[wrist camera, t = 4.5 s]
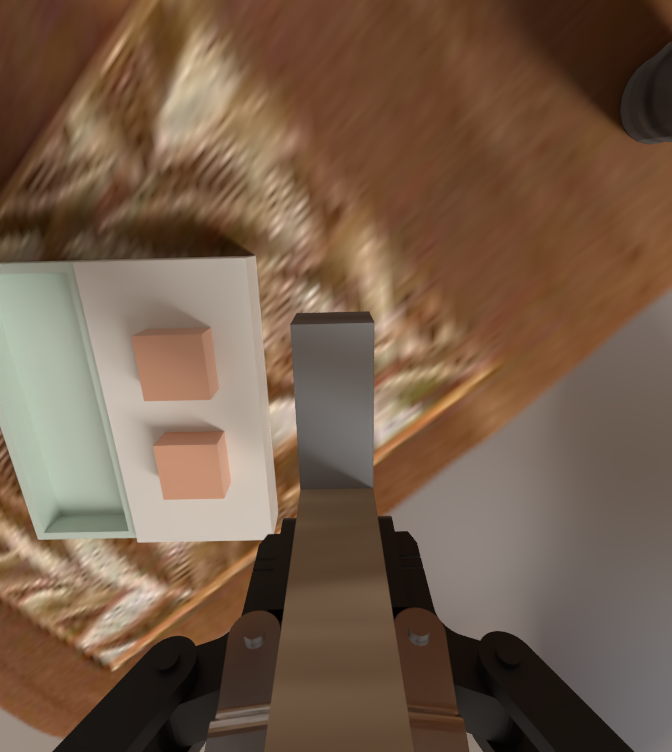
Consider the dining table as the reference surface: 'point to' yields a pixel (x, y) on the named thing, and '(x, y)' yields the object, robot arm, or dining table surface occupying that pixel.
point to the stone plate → (153, 418)
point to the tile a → (176, 364)
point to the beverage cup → (650, 100)
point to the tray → (57, 407)
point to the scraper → (336, 559)
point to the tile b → (193, 465)
